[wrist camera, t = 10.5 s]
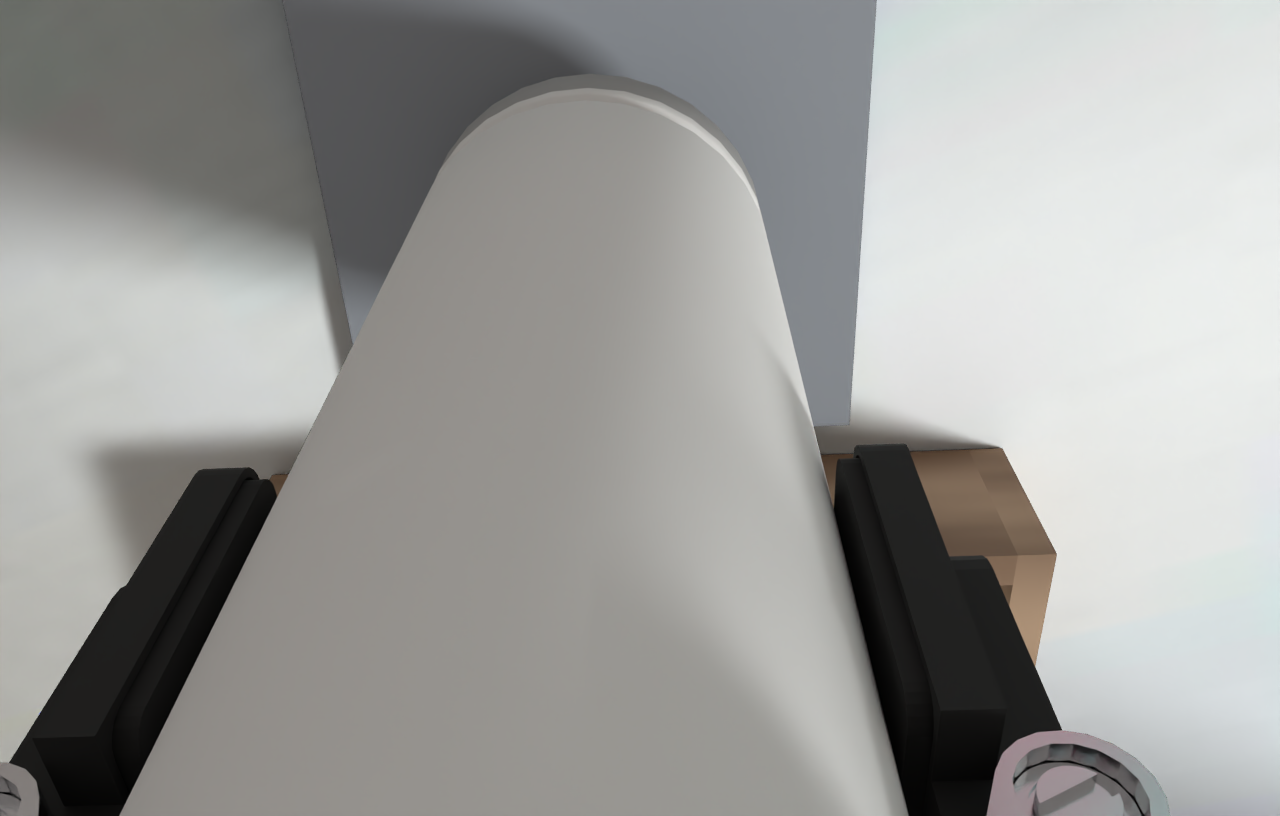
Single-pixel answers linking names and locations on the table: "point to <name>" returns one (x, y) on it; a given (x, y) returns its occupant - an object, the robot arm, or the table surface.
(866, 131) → the slate mat
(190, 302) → the table surface
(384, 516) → the travel mug
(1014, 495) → the wooden tray
